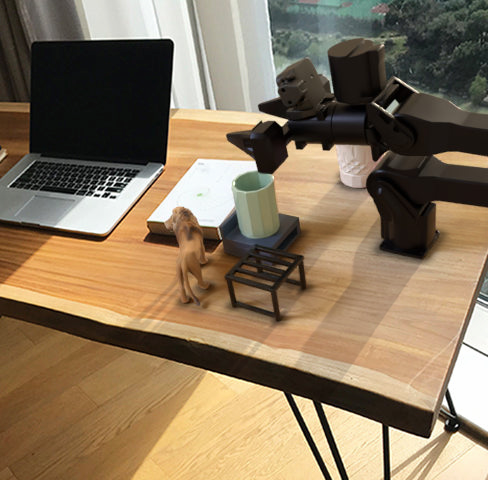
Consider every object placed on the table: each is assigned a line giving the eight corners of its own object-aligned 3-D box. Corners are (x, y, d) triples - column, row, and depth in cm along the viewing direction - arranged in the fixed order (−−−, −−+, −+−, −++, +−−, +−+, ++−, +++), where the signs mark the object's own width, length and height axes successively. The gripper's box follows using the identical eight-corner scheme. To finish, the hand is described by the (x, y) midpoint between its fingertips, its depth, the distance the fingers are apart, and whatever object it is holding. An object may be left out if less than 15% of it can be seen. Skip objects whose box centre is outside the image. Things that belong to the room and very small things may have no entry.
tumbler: (287, 220, 102) (281, 173, 97) (266, 242, 99) (259, 195, 94) (253, 212, 105) (246, 167, 100) (232, 234, 102) (223, 188, 97)
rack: (307, 286, 94) (304, 255, 91) (279, 322, 90) (273, 290, 86) (260, 273, 98) (254, 243, 95) (230, 306, 94) (223, 276, 91)
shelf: (301, 233, 104) (297, 205, 101) (272, 265, 99) (267, 238, 96) (254, 222, 109) (249, 196, 106) (224, 253, 104) (218, 226, 101)
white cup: (387, 188, 108) (385, 131, 102) (336, 192, 110) (332, 136, 104) (385, 163, 114) (384, 107, 108) (337, 167, 116) (333, 113, 110)
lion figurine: (173, 254, 107) (159, 205, 101) (206, 246, 106) (194, 197, 101) (182, 313, 95) (168, 262, 90) (219, 304, 95) (207, 253, 89)
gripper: (361, 35, 91) (262, 42, 101) (297, 98, 81) (193, 99, 90) (371, 111, 98) (277, 111, 107) (313, 179, 87) (215, 172, 97)
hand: (243, 121), depth 100 cm, fingers open, 9 cm apart
